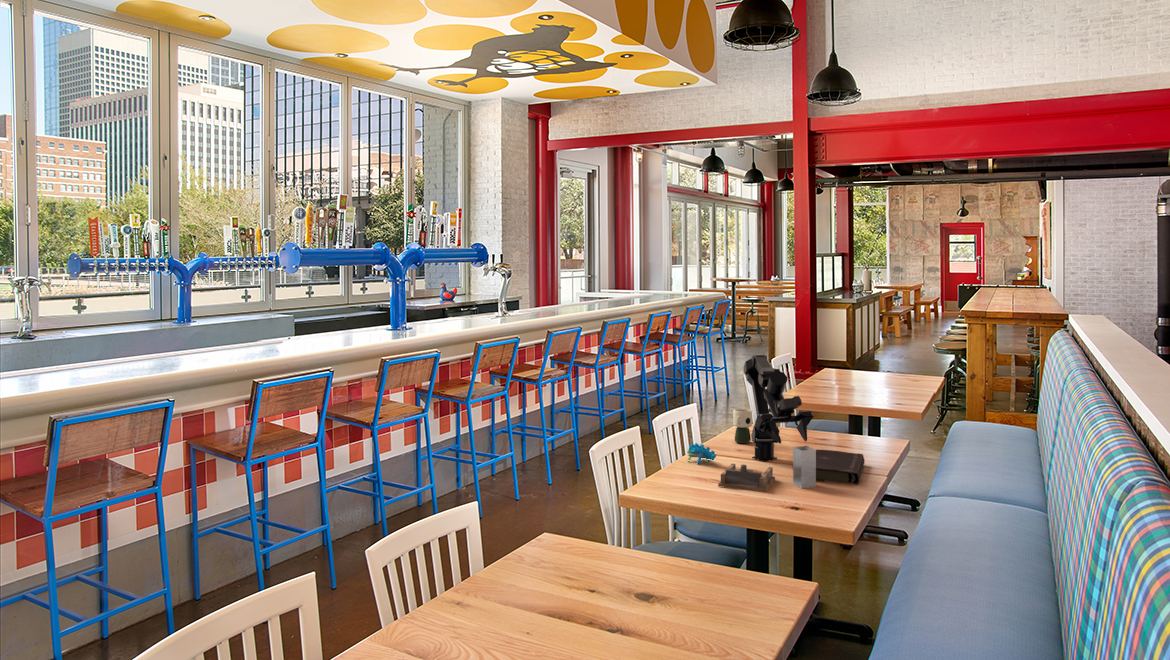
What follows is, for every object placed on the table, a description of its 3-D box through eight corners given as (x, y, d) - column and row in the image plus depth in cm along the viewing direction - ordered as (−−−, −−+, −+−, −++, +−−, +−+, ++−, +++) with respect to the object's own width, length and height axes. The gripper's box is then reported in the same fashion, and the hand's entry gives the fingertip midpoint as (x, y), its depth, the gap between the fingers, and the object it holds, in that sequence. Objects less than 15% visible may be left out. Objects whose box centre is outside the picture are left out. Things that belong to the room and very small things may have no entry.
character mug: (746, 446, 292) (746, 413, 291) (728, 444, 296) (728, 411, 295) (756, 440, 301) (756, 408, 300) (739, 439, 305) (739, 406, 304)
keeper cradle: (729, 475, 254) (729, 454, 253) (775, 479, 248) (775, 458, 247) (718, 486, 241) (718, 464, 241) (765, 491, 235) (765, 469, 234)
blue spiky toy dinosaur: (721, 457, 270) (707, 441, 265) (716, 472, 267) (701, 456, 262) (696, 457, 278) (682, 441, 273) (691, 470, 275) (676, 455, 270)
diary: (864, 467, 263) (864, 453, 263) (859, 487, 240) (859, 472, 240) (808, 461, 270) (808, 447, 270) (798, 480, 248) (798, 465, 247)
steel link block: (793, 484, 242) (793, 447, 241) (807, 482, 244) (807, 445, 243) (801, 488, 238) (801, 450, 237) (815, 487, 239) (815, 449, 238)
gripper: (759, 389, 247) (776, 430, 238) (810, 386, 252) (829, 425, 242) (748, 409, 256) (763, 449, 246) (798, 405, 260) (815, 444, 251)
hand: (793, 441), depth 246 cm, fingers open, 9 cm apart
